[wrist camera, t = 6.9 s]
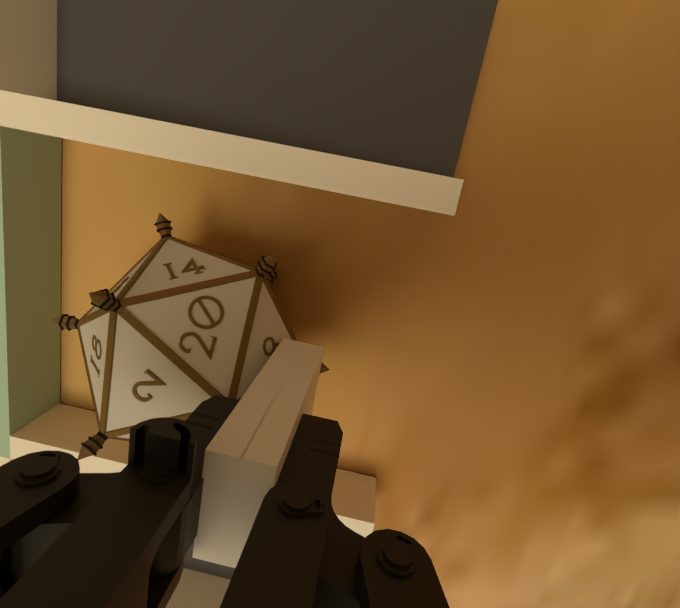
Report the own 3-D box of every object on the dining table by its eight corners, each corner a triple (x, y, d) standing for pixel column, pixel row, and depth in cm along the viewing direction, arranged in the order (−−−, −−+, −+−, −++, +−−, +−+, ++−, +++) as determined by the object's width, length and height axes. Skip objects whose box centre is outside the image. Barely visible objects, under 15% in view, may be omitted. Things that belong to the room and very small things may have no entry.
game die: (233, 267, 23) (83, 131, 14) (375, 322, 19) (302, 190, 10) (143, 424, 21) (-103, 384, 12) (286, 514, 17) (97, 557, 8)
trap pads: (501, -21, 15) (504, -25, 15) (344, 603, 23) (344, 608, 23) (63, -94, 16) (57, -100, 16) (59, 531, 24) (55, 535, 24)
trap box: (512, -61, 15) (542, -123, 12) (340, 619, 23) (333, 679, 20) (33, -138, 16) (-49, -214, 13) (39, 543, 24) (-8, 590, 21)
